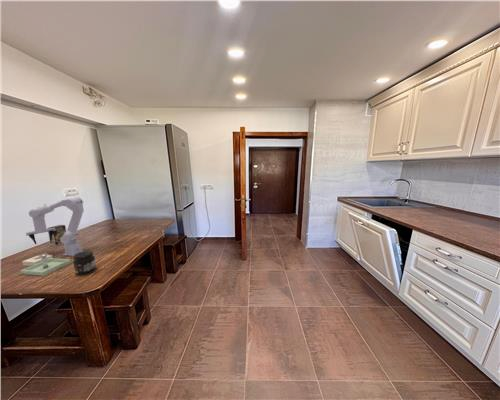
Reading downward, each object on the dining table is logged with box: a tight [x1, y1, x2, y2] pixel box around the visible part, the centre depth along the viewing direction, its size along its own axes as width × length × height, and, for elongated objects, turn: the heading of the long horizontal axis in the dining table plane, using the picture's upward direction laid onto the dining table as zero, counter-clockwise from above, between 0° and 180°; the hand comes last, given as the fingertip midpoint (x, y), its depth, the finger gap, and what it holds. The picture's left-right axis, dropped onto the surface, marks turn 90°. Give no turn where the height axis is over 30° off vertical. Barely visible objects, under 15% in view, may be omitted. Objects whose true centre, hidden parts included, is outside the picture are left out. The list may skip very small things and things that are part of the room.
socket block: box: [22, 254, 53, 267], centre depth 129 cm, size 10×10×3 cm
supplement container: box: [72, 250, 97, 276], centre depth 117 cm, size 10×10×12 cm
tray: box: [20, 258, 72, 277], centre depth 121 cm, size 16×16×2 cm
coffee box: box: [47, 224, 67, 247], centre depth 159 cm, size 9×6×16 cm
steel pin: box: [38, 252, 49, 268], centre depth 121 cm, size 4×4×9 cm
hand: (43, 242), depth 139 cm, fingers open, 7 cm apart
